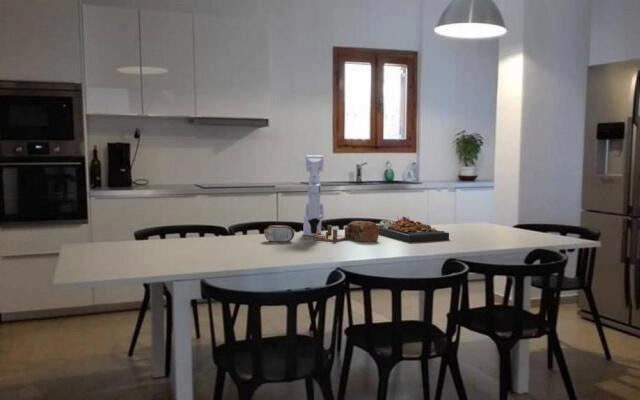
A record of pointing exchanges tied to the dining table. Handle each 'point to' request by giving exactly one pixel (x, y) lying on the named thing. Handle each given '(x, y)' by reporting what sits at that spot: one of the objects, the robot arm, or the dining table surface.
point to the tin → (279, 233)
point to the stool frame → (334, 235)
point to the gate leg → (318, 235)
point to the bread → (363, 231)
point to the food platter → (410, 231)
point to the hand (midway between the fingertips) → (313, 233)
